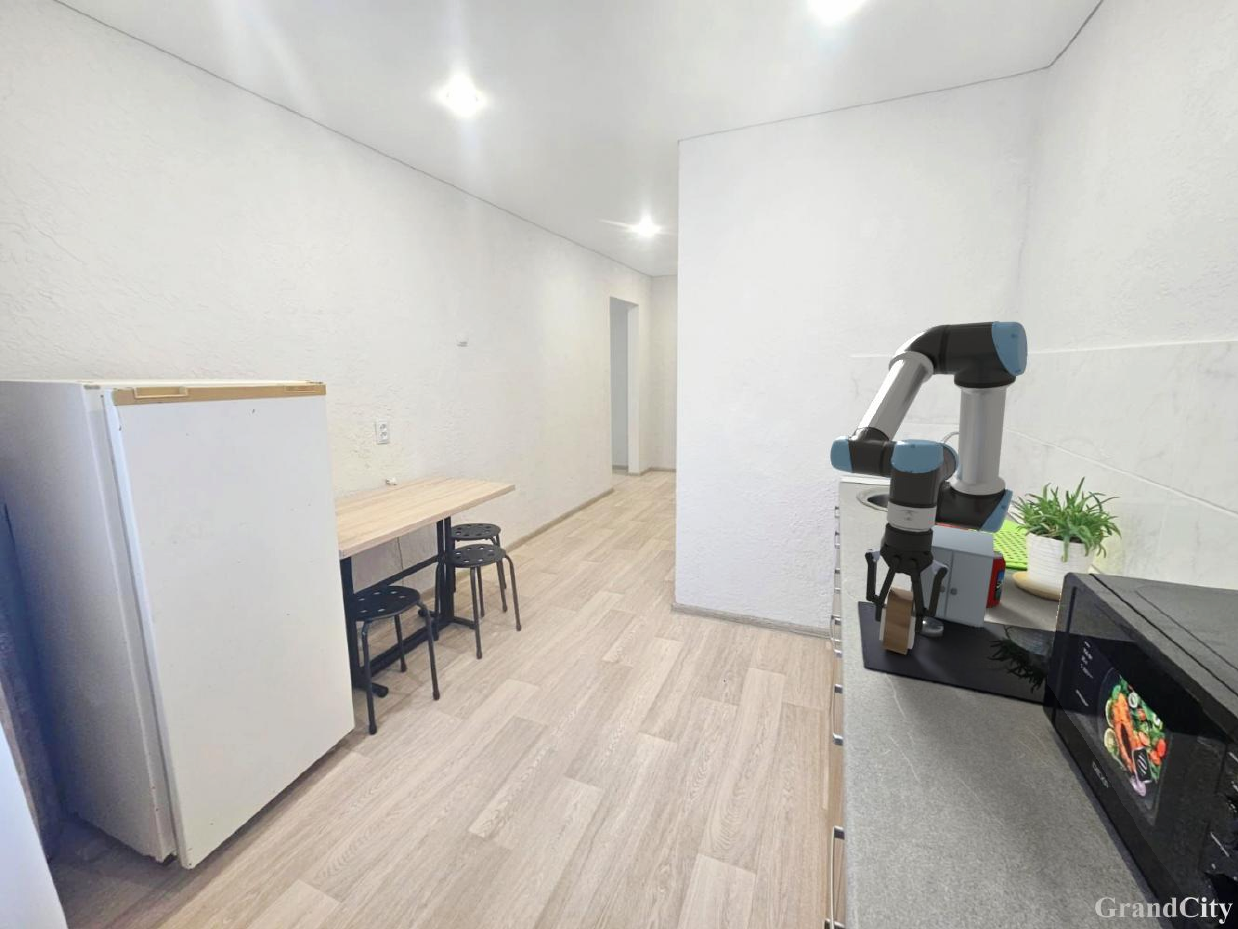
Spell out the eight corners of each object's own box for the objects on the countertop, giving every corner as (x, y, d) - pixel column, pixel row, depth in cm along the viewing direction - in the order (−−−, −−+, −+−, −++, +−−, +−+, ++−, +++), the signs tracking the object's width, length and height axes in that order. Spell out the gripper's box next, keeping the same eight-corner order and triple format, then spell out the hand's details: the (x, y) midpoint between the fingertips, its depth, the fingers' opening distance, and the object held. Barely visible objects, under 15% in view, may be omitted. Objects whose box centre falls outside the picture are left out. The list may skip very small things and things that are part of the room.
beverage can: (1005, 610, 108) (1014, 559, 105) (971, 607, 109) (979, 557, 107) (989, 596, 114) (997, 548, 112) (957, 593, 116) (964, 546, 113)
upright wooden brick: (895, 611, 106) (901, 564, 104) (917, 616, 104) (922, 568, 102) (882, 647, 93) (887, 594, 91) (906, 654, 91) (912, 600, 88)
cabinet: (913, 607, 109) (924, 523, 105) (979, 624, 102) (993, 534, 98) (904, 638, 97) (915, 544, 93) (978, 659, 90) (993, 558, 86)
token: (915, 622, 104) (916, 614, 103) (943, 629, 101) (944, 620, 100) (912, 632, 100) (913, 624, 99) (941, 640, 97) (942, 631, 96)
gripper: (853, 522, 90) (843, 635, 95) (965, 541, 80) (948, 666, 85) (862, 512, 96) (852, 619, 101) (967, 528, 86) (951, 646, 91)
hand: (896, 640), depth 93 cm, fingers closed on upright wooden brick, 4 cm apart
